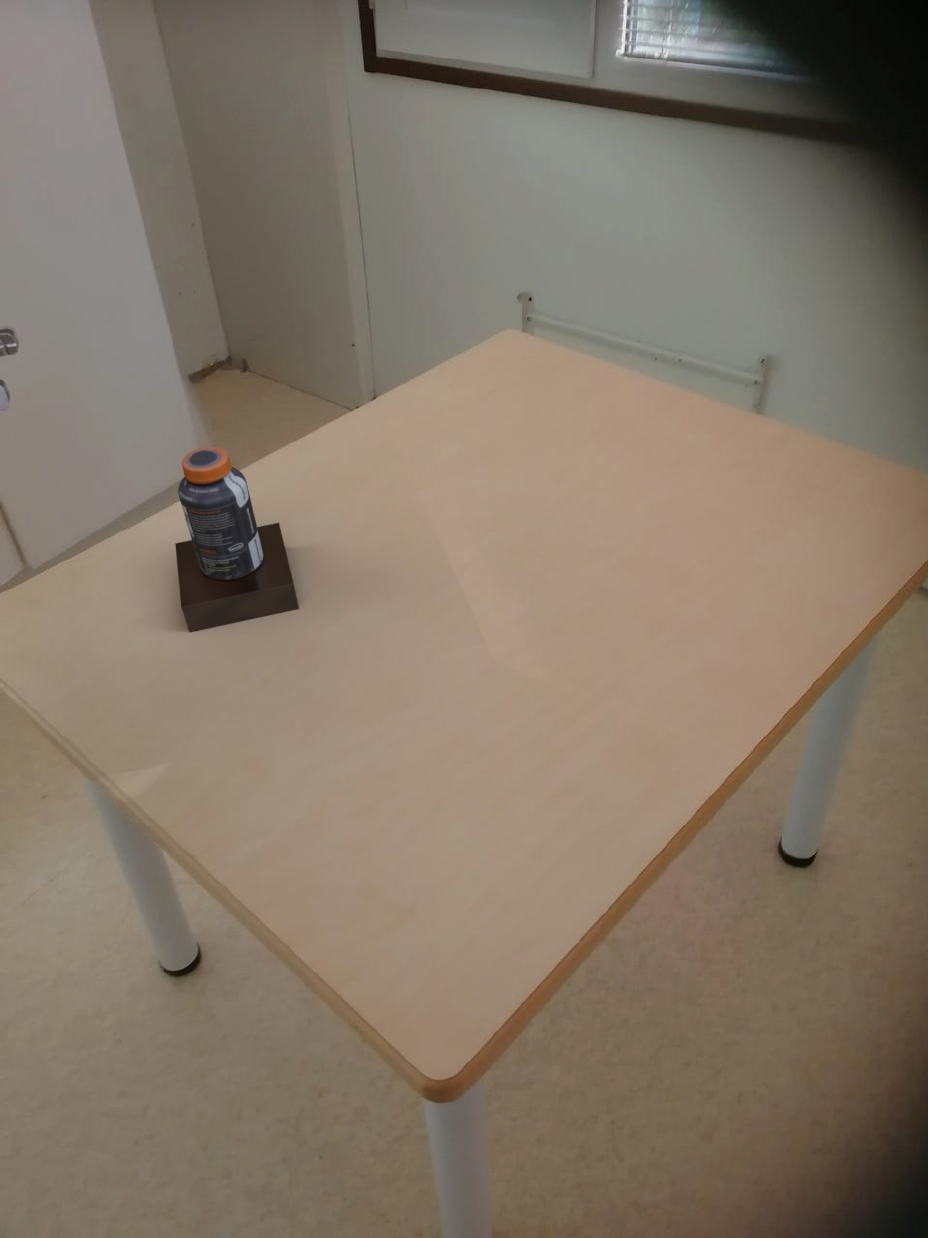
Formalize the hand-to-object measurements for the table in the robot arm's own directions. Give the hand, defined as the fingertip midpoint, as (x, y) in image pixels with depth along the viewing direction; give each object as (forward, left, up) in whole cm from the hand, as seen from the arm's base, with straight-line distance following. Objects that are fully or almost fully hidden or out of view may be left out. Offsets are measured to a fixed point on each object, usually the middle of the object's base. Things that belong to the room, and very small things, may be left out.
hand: (12, 364), depth 72 cm
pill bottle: (+12, 0, -22) cm, 25 cm away
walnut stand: (+12, 0, -25) cm, 28 cm away
